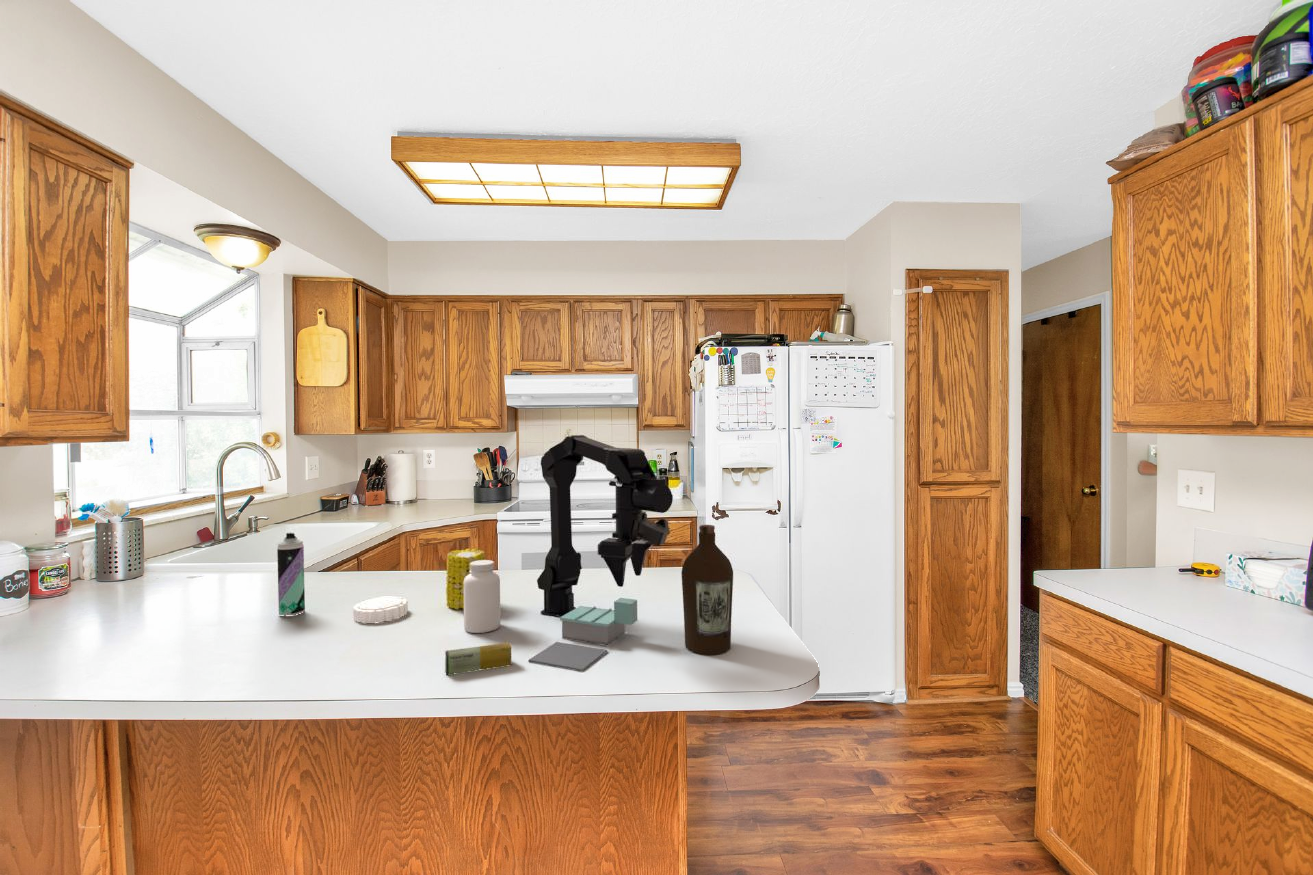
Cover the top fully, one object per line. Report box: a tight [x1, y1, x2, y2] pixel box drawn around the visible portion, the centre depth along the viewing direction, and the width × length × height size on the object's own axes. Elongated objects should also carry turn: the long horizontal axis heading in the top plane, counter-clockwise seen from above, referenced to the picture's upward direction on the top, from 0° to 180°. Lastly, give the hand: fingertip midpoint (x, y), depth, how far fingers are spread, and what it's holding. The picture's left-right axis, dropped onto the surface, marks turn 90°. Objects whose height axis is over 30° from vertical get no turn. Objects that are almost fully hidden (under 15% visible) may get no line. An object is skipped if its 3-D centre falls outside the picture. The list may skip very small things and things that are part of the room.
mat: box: [528, 641, 608, 672], centre depth 115 cm, size 12×10×1 cm
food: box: [445, 547, 486, 611], centre depth 148 cm, size 15×12×10 cm
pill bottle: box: [463, 559, 501, 634], centre depth 131 cm, size 8×8×15 cm
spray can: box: [276, 532, 306, 616], centre depth 143 cm, size 6×6×20 cm
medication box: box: [444, 642, 513, 676], centre depth 110 cm, size 12×3×4 cm, turn 112°
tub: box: [561, 620, 626, 646], centre depth 126 cm, size 11×8×4 cm
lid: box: [559, 597, 638, 627], centre depth 125 cm, size 16×9×5 cm, turn 67°
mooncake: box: [352, 595, 409, 624], centre depth 141 cm, size 12×12×4 cm
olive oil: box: [681, 524, 734, 656], centre depth 119 cm, size 11×11×25 cm
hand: (629, 580), depth 124 cm, fingers open, 9 cm apart
